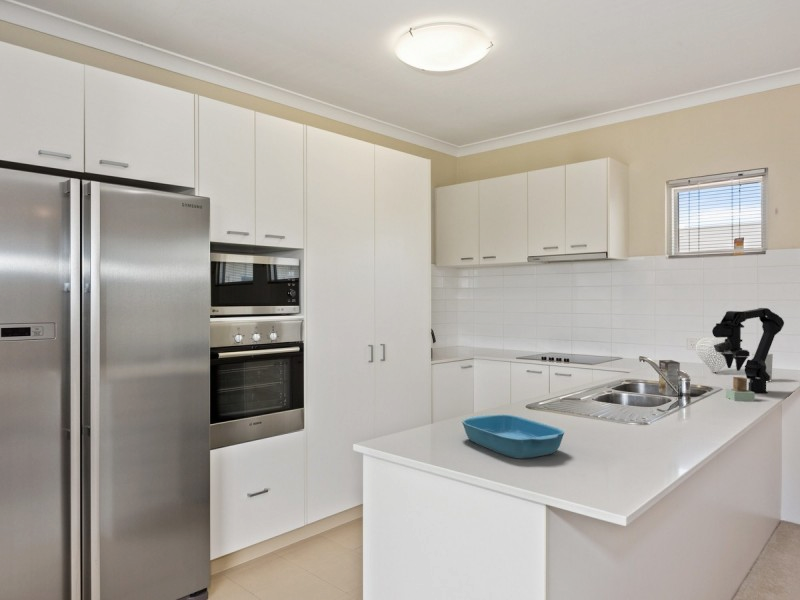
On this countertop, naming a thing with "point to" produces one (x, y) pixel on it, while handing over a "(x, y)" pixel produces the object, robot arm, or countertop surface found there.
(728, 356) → the robot arm
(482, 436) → the casserole dish
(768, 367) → the skincare box
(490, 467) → the countertop surface
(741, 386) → the peg
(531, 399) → the countertop surface
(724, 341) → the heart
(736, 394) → the socket
